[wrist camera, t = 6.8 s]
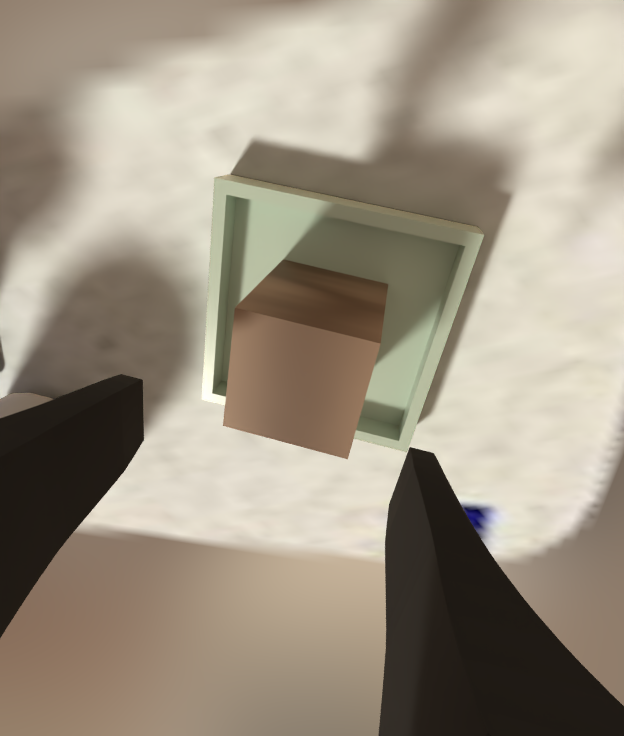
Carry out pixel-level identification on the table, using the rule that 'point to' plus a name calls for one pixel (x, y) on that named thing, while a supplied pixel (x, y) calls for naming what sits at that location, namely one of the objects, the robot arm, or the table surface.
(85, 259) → the table surface
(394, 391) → the tray
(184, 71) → the table surface
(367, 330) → the block
